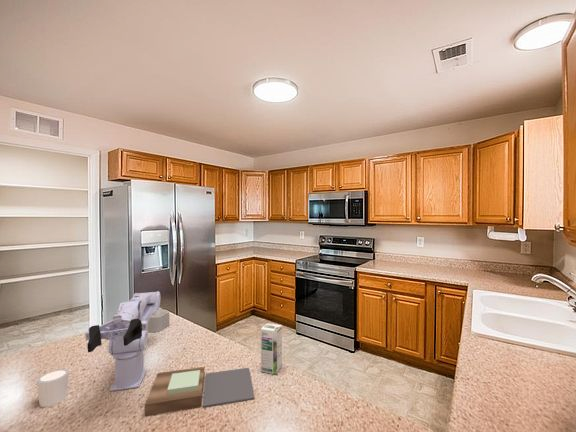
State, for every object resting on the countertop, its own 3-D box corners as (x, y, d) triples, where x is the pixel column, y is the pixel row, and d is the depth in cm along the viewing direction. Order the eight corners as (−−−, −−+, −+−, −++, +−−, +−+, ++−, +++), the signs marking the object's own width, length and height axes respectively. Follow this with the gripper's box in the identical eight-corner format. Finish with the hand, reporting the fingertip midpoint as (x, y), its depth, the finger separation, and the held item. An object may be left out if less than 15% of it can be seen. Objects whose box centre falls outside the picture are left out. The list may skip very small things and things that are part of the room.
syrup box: (260, 372, 90) (260, 328, 90) (267, 363, 95) (267, 322, 96) (275, 375, 88) (275, 330, 88) (282, 366, 93) (282, 324, 94)
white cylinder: (52, 392, 80) (52, 368, 80) (74, 392, 80) (75, 368, 80) (29, 408, 73) (29, 382, 73) (54, 408, 73) (54, 382, 73)
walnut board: (157, 382, 84) (157, 372, 84) (204, 376, 88) (204, 366, 88) (144, 416, 70) (144, 404, 70) (201, 406, 73) (201, 395, 73)
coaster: (172, 378, 81) (172, 373, 81) (200, 374, 83) (200, 370, 83) (167, 395, 73) (167, 389, 73) (198, 390, 75) (198, 385, 75)
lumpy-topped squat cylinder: (157, 333, 121) (157, 314, 121) (132, 331, 124) (132, 312, 124) (172, 325, 131) (172, 307, 131) (149, 323, 134) (149, 305, 134)
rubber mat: (206, 375, 88) (206, 373, 88) (248, 369, 92) (248, 367, 92) (202, 407, 73) (202, 405, 73) (254, 399, 76) (254, 397, 76)
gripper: (93, 312, 77) (70, 334, 64) (149, 304, 81) (139, 323, 68) (95, 336, 77) (73, 363, 64) (151, 327, 81) (141, 350, 68)
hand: (107, 344), depth 66 cm, fingers open, 7 cm apart
